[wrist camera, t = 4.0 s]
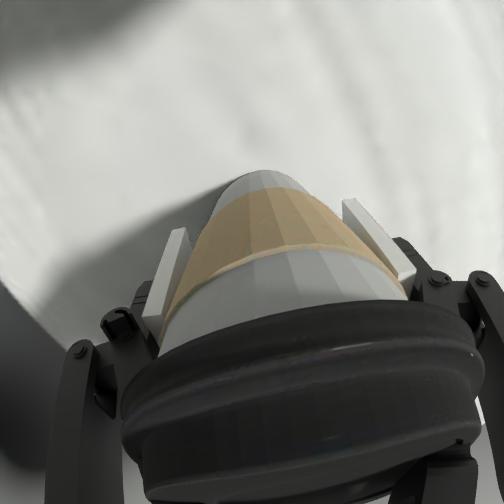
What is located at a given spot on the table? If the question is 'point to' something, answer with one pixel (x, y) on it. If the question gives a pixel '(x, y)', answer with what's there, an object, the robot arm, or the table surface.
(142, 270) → the table surface
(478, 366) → the coffee cup
